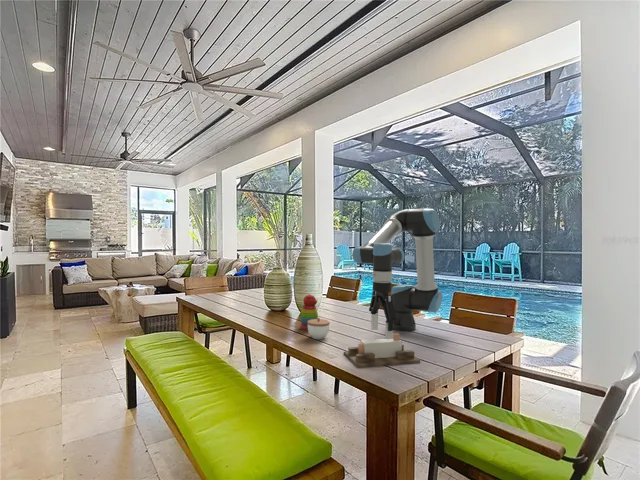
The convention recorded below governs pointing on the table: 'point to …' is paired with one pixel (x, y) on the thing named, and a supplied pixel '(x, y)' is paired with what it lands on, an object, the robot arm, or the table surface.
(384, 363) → the cradle
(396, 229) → the robot arm
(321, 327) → the lidded jar
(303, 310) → the stacking bear
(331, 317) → the table surface
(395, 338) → the block
